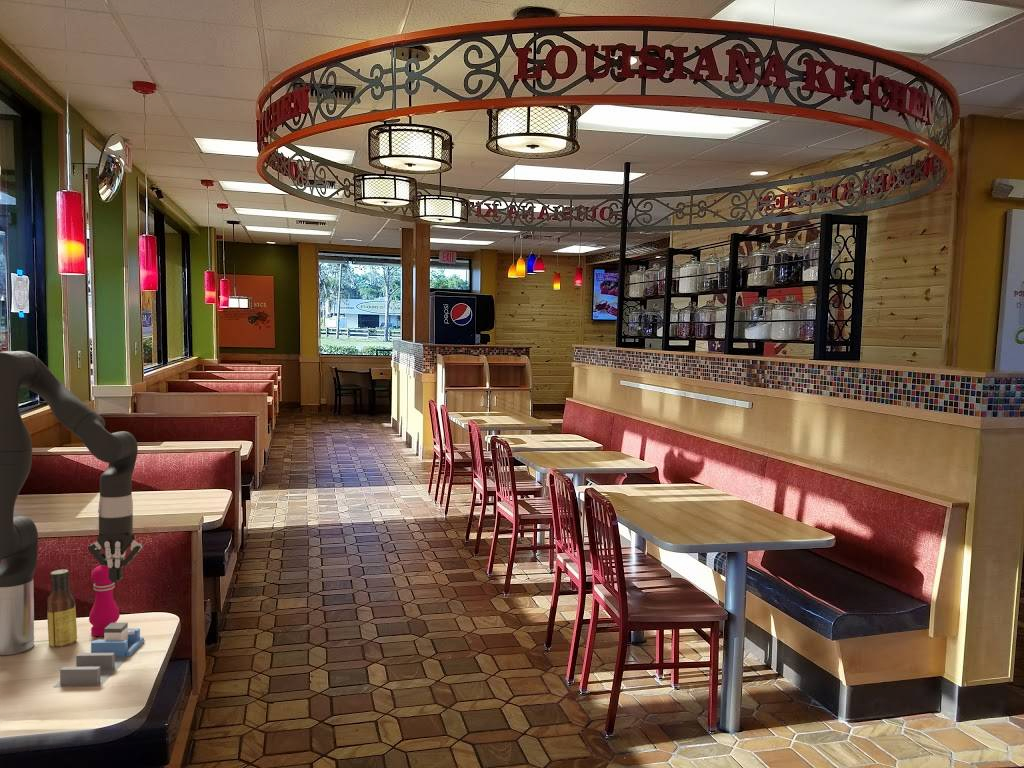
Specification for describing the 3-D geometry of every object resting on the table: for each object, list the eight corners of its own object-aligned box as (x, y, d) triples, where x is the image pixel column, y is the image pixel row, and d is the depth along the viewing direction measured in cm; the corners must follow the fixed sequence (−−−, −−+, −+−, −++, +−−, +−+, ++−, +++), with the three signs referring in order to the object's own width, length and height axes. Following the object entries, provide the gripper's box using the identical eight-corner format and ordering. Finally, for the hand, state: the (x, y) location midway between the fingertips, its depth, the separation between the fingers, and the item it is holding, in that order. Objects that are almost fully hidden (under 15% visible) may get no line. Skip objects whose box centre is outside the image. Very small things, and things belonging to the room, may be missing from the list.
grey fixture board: (53, 693, 170) (53, 671, 169) (105, 646, 196) (104, 627, 195) (100, 692, 171) (100, 671, 170) (145, 645, 197) (145, 626, 196)
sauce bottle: (82, 644, 197) (82, 568, 195) (66, 654, 190) (65, 576, 189) (58, 642, 197) (58, 567, 196) (41, 652, 191) (40, 574, 190)
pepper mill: (85, 639, 200) (85, 564, 199) (92, 628, 207) (92, 556, 205) (116, 636, 202) (116, 562, 201) (122, 626, 209) (121, 554, 207)
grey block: (104, 652, 188) (104, 628, 188) (111, 645, 192) (111, 622, 192) (121, 652, 189) (121, 628, 188) (127, 645, 193) (127, 622, 192)
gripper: (149, 509, 193) (149, 576, 194) (94, 508, 192) (94, 576, 193) (137, 516, 185) (137, 586, 186) (80, 516, 184) (80, 586, 185)
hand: (115, 581), depth 189 cm, fingers closed
